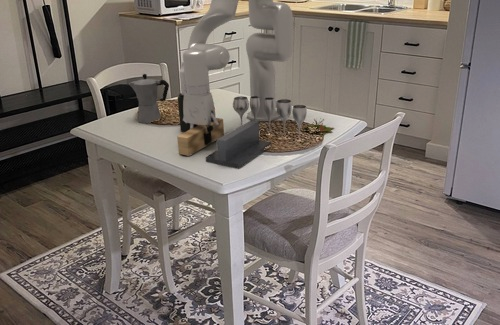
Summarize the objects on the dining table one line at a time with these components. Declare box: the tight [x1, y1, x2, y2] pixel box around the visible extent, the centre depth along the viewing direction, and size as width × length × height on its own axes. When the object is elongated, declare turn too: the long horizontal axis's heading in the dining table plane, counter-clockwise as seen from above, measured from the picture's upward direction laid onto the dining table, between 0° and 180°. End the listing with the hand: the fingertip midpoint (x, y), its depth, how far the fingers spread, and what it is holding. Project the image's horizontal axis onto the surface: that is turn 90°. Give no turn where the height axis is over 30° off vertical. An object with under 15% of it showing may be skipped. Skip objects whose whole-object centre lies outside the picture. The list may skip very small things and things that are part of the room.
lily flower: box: [305, 118, 335, 136], centre depth 177 cm, size 12×12×5 cm
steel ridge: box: [205, 120, 272, 170], centre depth 159 cm, size 20×12×8 cm, turn 149°
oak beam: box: [176, 117, 225, 157], centre depth 166 cm, size 20×4×6 cm, turn 149°
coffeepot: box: [127, 73, 170, 124], centre depth 191 cm, size 15×9×18 cm, turn 87°
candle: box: [177, 60, 190, 133], centre depth 178 cm, size 5×5×25 cm
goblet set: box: [232, 95, 308, 138], centre depth 173 cm, size 28×6×13 cm, turn 59°
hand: (202, 141), depth 167 cm, fingers closed on oak beam, 4 cm apart
